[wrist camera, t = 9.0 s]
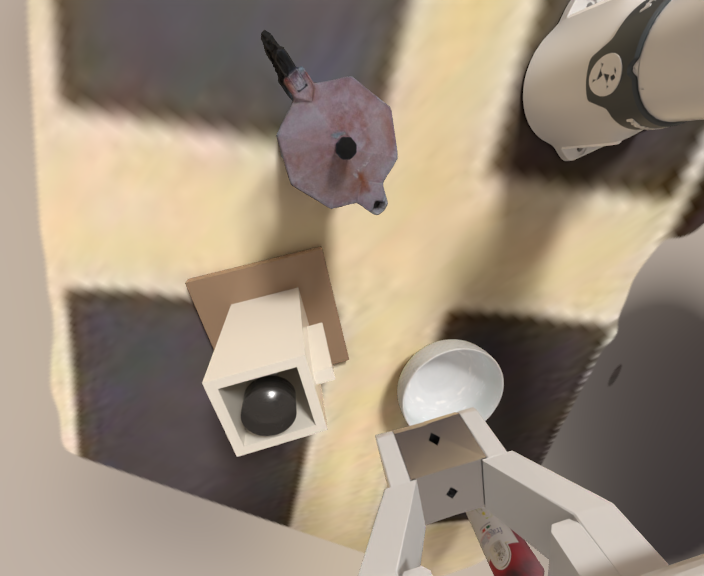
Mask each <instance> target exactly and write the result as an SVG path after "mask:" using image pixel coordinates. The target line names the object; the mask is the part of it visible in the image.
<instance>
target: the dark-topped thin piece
mask: <svg viewBox="0 0 704 576" xmlns="http://www.w3.org/2000/svg"><path fill="white" fill-rule="evenodd" d="M296 414H297V409H296V392H295V389H294V387H293V385H292V384H291V383H290V382H289V381H288V380H286V379H285V378H282V377H279V376H278V372H277V373H273V374H270V375H266V376H263V377H260V378H258V379H256V380H254V381H253V382H251V383H250V384H249V385H248V387H247V388H246V390H245V393H244V398H243V403H242V409H241V421H242V424H243V425H244V427H245V428H246V429H247V430H249V431H250V432H252V433H254V434H257V435H261V436H272V435H277V434H280V433H282V432H284V431H285V430H287V429H288V428H289V427H290V426H291V425H292V424H293V423H294V421H295V419H296Z"/></svg>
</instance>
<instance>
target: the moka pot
mask: <svg viewBox="0 0 704 576" xmlns="http://www.w3.org/2000/svg"><path fill="white" fill-rule="evenodd" d="M261 40H262V42H263V45H264V49H265V52H266V55H267V56H268V58H269V59H270V60H271V62H272V64H273V67H275V71H276V73H277V75H278V82H279V84H280V85H281V86H282V88H283V89H284V91H285V92H286V94H287V95H288V96H289V98H290V99H292V101H293V102H292V104H291V106H290V108H289V110H288V112H287V114H286V116H285V118H284V120H283V122H282V124H281V126H280V128H279V131H278V133H277V135H276V136H277V140H278V143H279V147H280V152H281V157H282V158H283V160H284V163H285V167H286V170H287V174H288V177H289V180H290V183H291V185H292V186H294V187H295V188H297V189H299V190H300V191H302V192H304V193H305V194H307V195H309V196H310V197H312V198H314V199H315V200H317V201H319V202H320V203H322V204H323V205H325V206H327V207H329V208H331V209H333V208H337V207H342V206H345V205H349V204H353V203H358V204H359V205H361V206H363V207H364V208H365V209H366V210H368V211H369V212H371V213H373V214H375V215H379V214H380V213H382V212H383V211H384V210H385V208H386V206H387V204H388V202H387V198H386V195H385V191H384V187H383V182H384V180H385V178H386V177H387V175H388V174H389V172H390V171H391V169H392V168H393V166H394V164H395V162H396V160H397V146H396V139H395V132H394V125H393V118H392V111H391V109H390V107H389V106H388V105H387V104H386V103H384V102H383V101H382V100H380V99H379V98H378V97H377V96H375V95H374V94H373V93H372V92H370V91H369V90H368V89H367V88H365V87H364V86H363V85H362V84H361V83H359V82H358V81H357V80H356V79H354V78H353V77H351V76H348V77H343V78H339V79H335V80H330V81H326V82H320V83H315V82H313V81H312V80H311V78H310V77H309V75H308V73H307V72H306V71H305V69H304V68H303V67H302V66H300V67H298V68H297V67H296V66H295V64H294V63H293V61H292V59H291V58H290V56H289V55H288V53H287V52H286V50H285V49H284V47H281V46H279V45H278V43H277V42H276V41H275V39H274V38H273V36H272V35H271V34H270V33H269V32H267V31H266V30H264V31H263V32H262V33H261Z"/></svg>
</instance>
